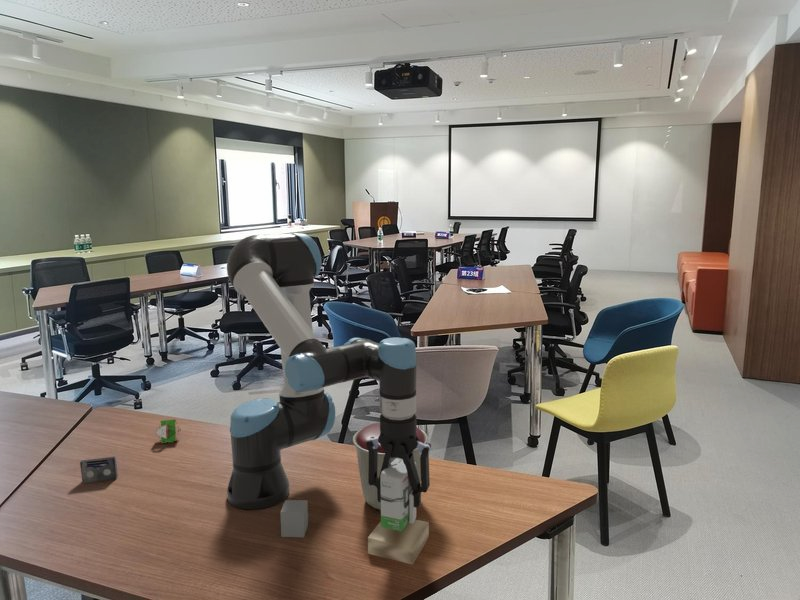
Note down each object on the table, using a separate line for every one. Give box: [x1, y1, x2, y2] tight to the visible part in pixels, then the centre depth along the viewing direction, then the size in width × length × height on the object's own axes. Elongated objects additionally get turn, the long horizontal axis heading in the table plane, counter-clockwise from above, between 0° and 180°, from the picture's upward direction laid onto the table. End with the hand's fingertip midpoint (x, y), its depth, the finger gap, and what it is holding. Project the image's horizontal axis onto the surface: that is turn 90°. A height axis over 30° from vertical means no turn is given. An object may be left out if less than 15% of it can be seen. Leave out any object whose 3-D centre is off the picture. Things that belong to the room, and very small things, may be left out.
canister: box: [352, 421, 429, 511], centre depth 138 cm, size 18×18×21 cm
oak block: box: [367, 518, 430, 565], centre depth 121 cm, size 10×10×4 cm
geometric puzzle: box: [155, 418, 181, 444], centre depth 174 cm, size 7×7×8 cm
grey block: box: [279, 499, 309, 538], centre depth 127 cm, size 5×5×6 cm
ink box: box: [380, 458, 416, 531], centre depth 119 cm, size 9×5×12 cm, turn 157°
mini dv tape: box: [79, 456, 119, 484], centre depth 150 cm, size 8×2×6 cm, turn 105°
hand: (399, 517), depth 120 cm, fingers closed on ink box, 5 cm apart
